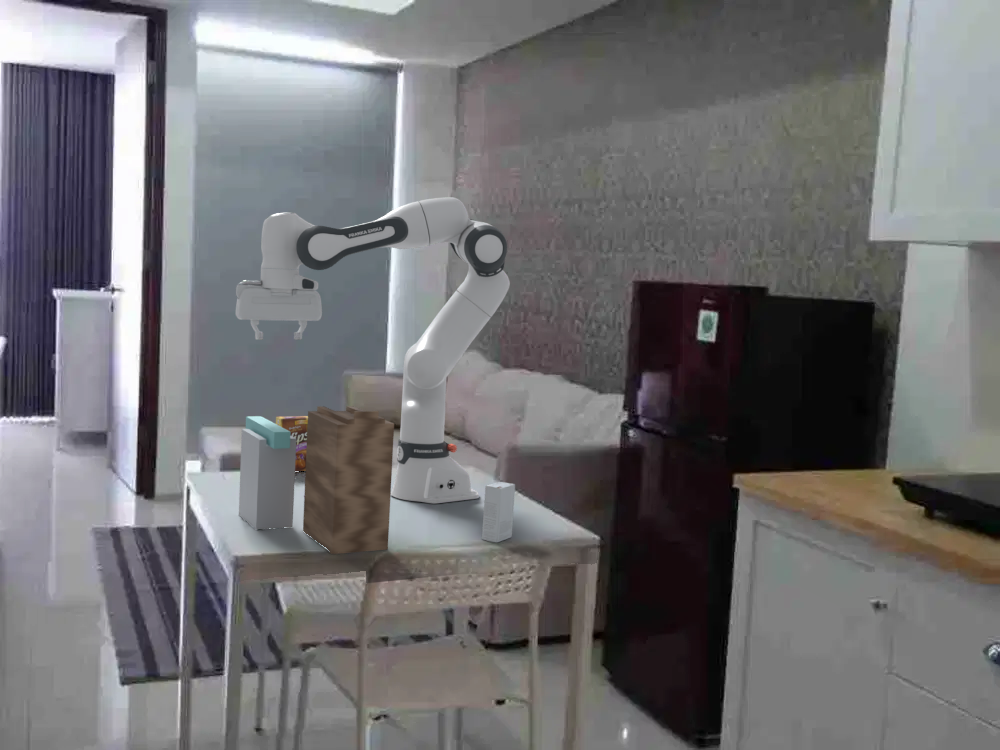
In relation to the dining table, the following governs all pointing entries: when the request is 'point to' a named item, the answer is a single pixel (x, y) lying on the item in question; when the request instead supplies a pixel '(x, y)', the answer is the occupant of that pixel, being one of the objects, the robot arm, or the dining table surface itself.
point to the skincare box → (498, 511)
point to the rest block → (266, 482)
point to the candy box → (296, 436)
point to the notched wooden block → (348, 479)
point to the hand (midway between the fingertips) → (278, 339)
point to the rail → (269, 431)
